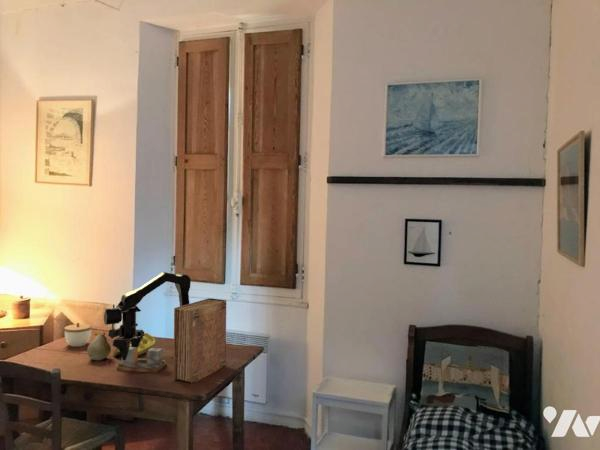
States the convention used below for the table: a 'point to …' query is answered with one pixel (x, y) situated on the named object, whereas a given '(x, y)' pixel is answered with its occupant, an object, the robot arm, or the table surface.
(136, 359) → the grey green block
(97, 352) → the fruit
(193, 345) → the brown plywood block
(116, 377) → the table surface
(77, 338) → the lidded bowl
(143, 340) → the plastic component
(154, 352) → the rail
